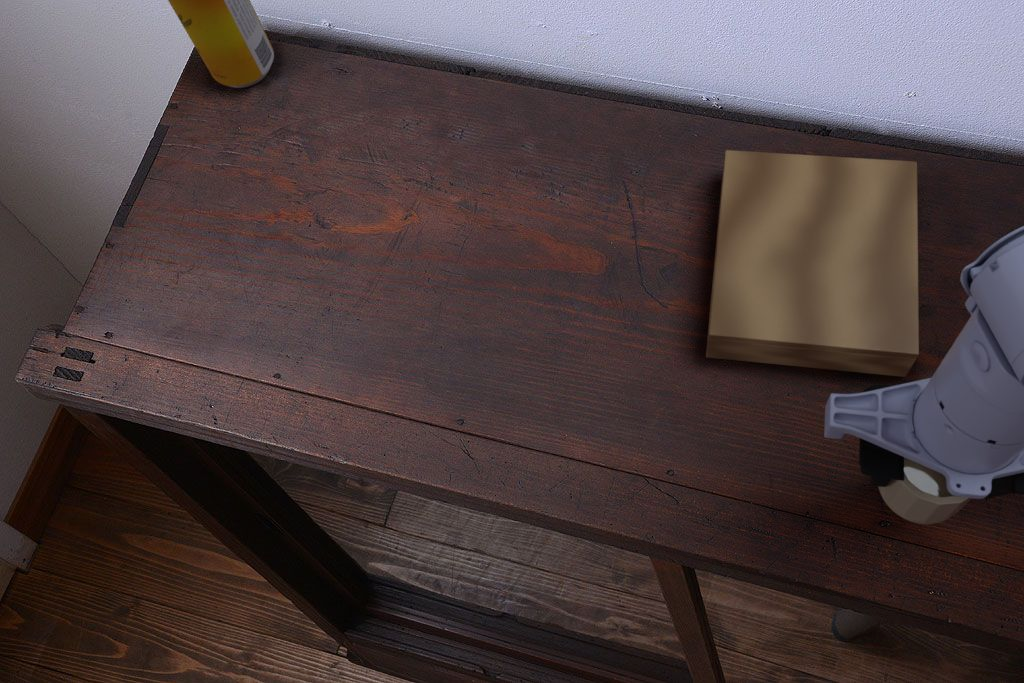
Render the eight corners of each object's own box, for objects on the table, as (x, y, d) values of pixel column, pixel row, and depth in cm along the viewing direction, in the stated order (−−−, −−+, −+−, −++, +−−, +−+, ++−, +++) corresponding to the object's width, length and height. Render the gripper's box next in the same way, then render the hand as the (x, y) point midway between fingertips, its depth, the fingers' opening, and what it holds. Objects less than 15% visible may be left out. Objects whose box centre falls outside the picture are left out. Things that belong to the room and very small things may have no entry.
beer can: (223, 40, 92) (152, -93, 78) (284, 42, 91) (222, -92, 77) (205, 90, 89) (127, -38, 76) (267, 93, 88) (199, -36, 75)
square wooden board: (905, 190, 76) (917, 161, 72) (905, 377, 69) (919, 354, 66) (722, 178, 78) (725, 149, 75) (705, 357, 71) (708, 334, 68)
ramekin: (963, 448, 63) (985, 423, 59) (966, 530, 61) (988, 510, 57) (877, 439, 64) (893, 414, 60) (876, 519, 62) (892, 498, 58)
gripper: (842, 450, 48) (803, 523, 61) (1162, 485, 46) (1054, 555, 58) (845, 324, 51) (807, 418, 64) (1146, 351, 49) (1047, 444, 61)
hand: (925, 476), depth 61 cm, fingers closed on ramekin, 5 cm apart
